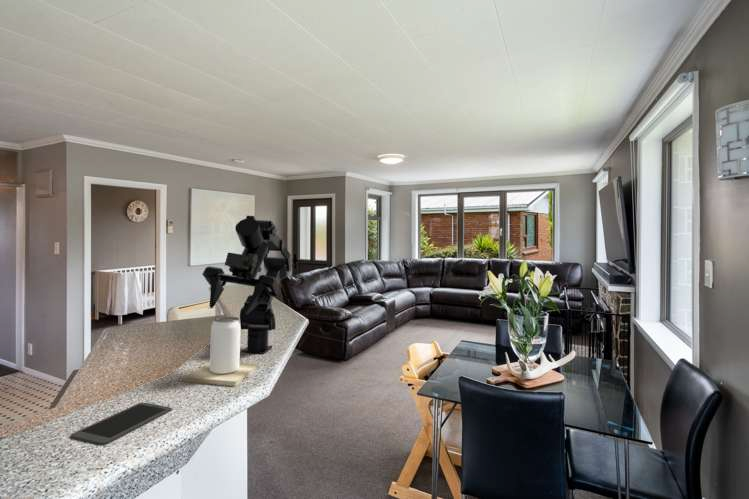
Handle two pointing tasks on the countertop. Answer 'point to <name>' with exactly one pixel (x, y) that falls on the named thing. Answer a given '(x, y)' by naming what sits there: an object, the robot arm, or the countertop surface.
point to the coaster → (221, 375)
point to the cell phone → (120, 423)
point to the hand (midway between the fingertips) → (228, 310)
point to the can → (225, 345)
